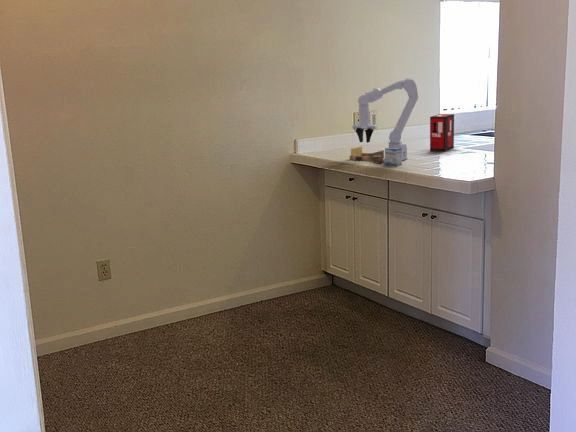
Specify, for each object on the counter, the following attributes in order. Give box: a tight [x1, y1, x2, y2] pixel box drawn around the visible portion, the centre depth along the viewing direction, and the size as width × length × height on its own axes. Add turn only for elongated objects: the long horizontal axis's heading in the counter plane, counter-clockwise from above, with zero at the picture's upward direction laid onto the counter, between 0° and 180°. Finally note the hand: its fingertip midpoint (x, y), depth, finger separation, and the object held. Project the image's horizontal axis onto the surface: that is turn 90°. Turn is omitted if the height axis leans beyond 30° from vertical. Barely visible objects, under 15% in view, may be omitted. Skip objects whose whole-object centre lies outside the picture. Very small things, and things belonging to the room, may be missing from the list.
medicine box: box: [384, 147, 403, 167], centre depth 332 cm, size 8×4×9 cm, turn 45°
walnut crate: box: [372, 155, 384, 165], centre depth 340 cm, size 4×4×4 cm
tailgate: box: [350, 146, 363, 156], centre depth 356 cm, size 1×10×6 cm, turn 141°
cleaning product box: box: [429, 113, 455, 153], centre depth 377 cm, size 16×9×20 cm, turn 148°
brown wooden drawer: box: [349, 149, 385, 162], centre depth 352 cm, size 15×14×5 cm
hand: (364, 142), depth 351 cm, fingers open, 4 cm apart
